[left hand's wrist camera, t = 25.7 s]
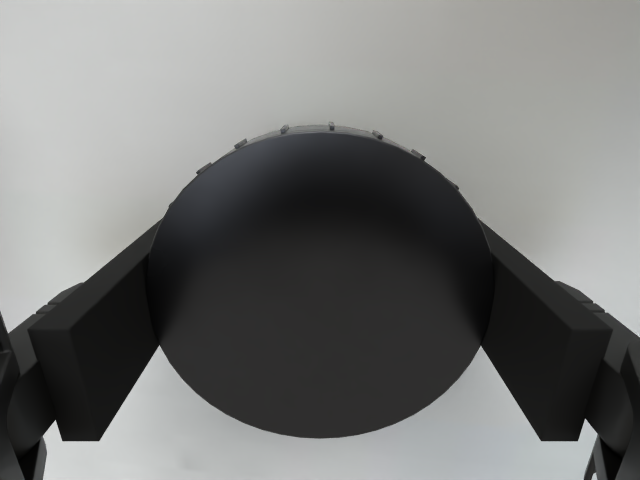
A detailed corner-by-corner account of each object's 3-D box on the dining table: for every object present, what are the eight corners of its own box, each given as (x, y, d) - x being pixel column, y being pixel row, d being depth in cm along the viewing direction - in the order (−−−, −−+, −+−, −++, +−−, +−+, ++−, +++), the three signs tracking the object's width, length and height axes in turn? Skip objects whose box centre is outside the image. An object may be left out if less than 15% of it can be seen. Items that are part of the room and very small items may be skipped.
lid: (205, 414, 14) (191, 454, 12) (124, 146, 10) (91, 155, 9) (472, 387, 13) (492, 425, 12) (477, 99, 10) (504, 100, 8)
